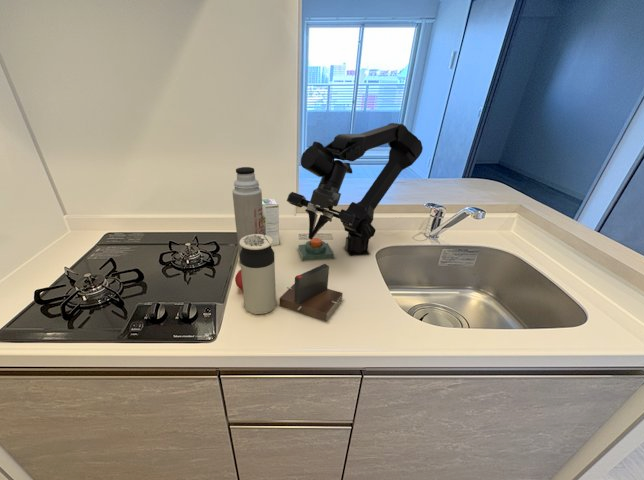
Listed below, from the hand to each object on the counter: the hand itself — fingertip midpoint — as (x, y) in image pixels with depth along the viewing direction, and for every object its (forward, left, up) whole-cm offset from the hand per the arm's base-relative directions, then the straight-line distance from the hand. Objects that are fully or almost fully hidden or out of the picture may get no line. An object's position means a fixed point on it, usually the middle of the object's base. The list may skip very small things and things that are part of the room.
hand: (310, 238), depth 90 cm
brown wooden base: (+3, +16, -11) cm, 19 cm away
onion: (+19, +8, -11) cm, 23 cm away
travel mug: (+16, +15, -11) cm, 24 cm away
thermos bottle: (+16, -9, -11) cm, 22 cm away
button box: (-4, -11, -11) cm, 16 cm away
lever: (+3, +16, -8) cm, 18 cm away
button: (-4, -11, -8) cm, 14 cm away
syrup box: (+10, -22, -11) cm, 27 cm away
